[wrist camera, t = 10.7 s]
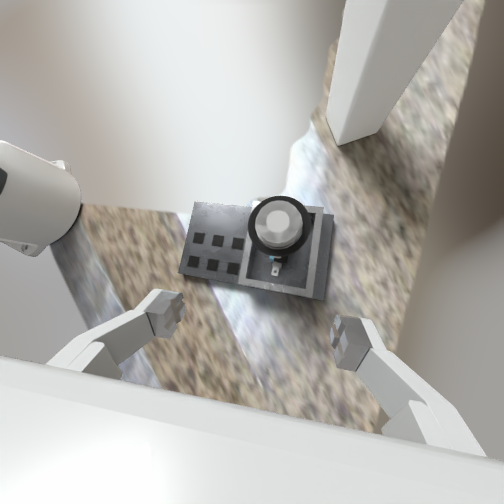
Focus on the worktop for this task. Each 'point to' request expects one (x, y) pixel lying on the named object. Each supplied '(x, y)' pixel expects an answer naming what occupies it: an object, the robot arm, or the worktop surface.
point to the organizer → (254, 252)
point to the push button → (279, 228)
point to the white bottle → (380, 59)
